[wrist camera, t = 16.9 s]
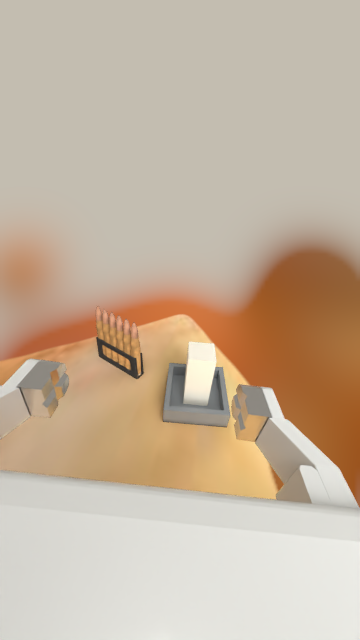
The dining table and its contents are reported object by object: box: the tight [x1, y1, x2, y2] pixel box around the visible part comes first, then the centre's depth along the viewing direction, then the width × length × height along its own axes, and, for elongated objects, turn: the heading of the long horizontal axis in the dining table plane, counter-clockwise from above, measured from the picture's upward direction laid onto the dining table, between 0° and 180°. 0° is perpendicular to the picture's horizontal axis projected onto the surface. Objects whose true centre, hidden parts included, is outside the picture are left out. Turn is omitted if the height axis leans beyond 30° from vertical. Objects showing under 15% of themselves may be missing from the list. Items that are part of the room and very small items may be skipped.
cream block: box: [183, 342, 216, 406], centre depth 35 cm, size 4×4×10 cm
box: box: [163, 363, 230, 427], centre depth 37 cm, size 10×10×3 cm
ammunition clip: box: [96, 306, 143, 379], centre depth 41 cm, size 11×2×12 cm, turn 57°
